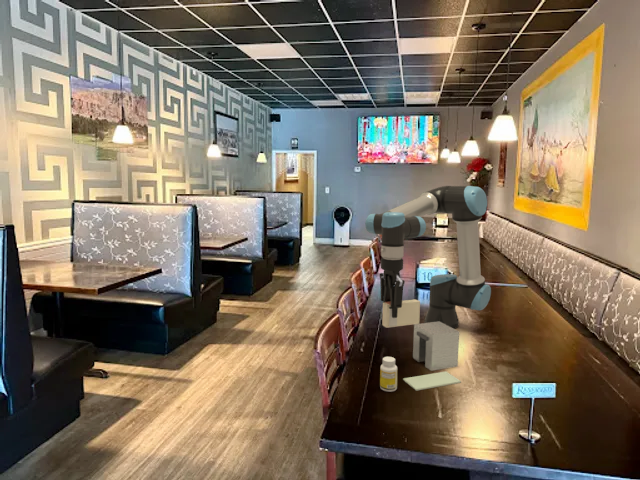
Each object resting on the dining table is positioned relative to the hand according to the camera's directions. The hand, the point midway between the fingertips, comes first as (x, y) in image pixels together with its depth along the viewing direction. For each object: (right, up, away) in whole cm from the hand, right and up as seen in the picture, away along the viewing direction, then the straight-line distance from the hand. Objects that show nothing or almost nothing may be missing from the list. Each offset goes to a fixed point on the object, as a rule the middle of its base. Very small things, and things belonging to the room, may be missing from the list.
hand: (390, 324), depth 154 cm
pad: (+13, -18, -7) cm, 23 cm away
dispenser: (+18, -15, +9) cm, 25 cm away
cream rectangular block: (+4, 0, +1) cm, 4 cm away
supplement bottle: (-2, -18, -12) cm, 22 cm away
